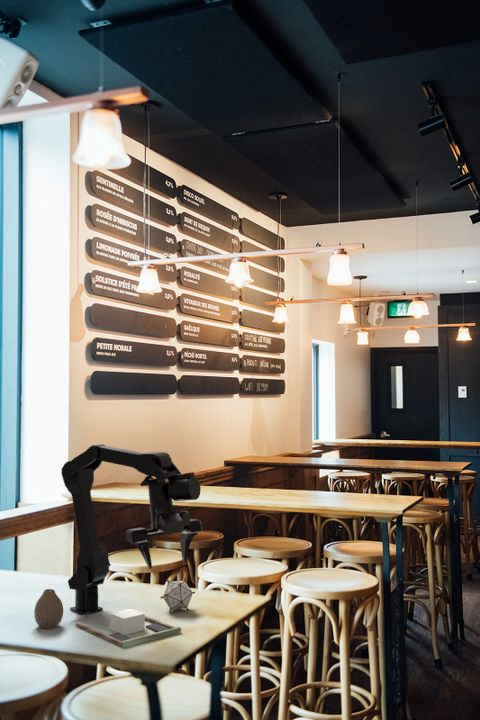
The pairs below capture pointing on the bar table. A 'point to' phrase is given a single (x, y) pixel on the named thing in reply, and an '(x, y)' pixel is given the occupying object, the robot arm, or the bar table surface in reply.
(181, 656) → the bar table surface
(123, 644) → the wood-trimmed serving tray
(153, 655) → the bar table surface
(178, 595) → the game die
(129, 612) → the block
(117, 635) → the dark grey rectangular slab
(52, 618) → the vase
